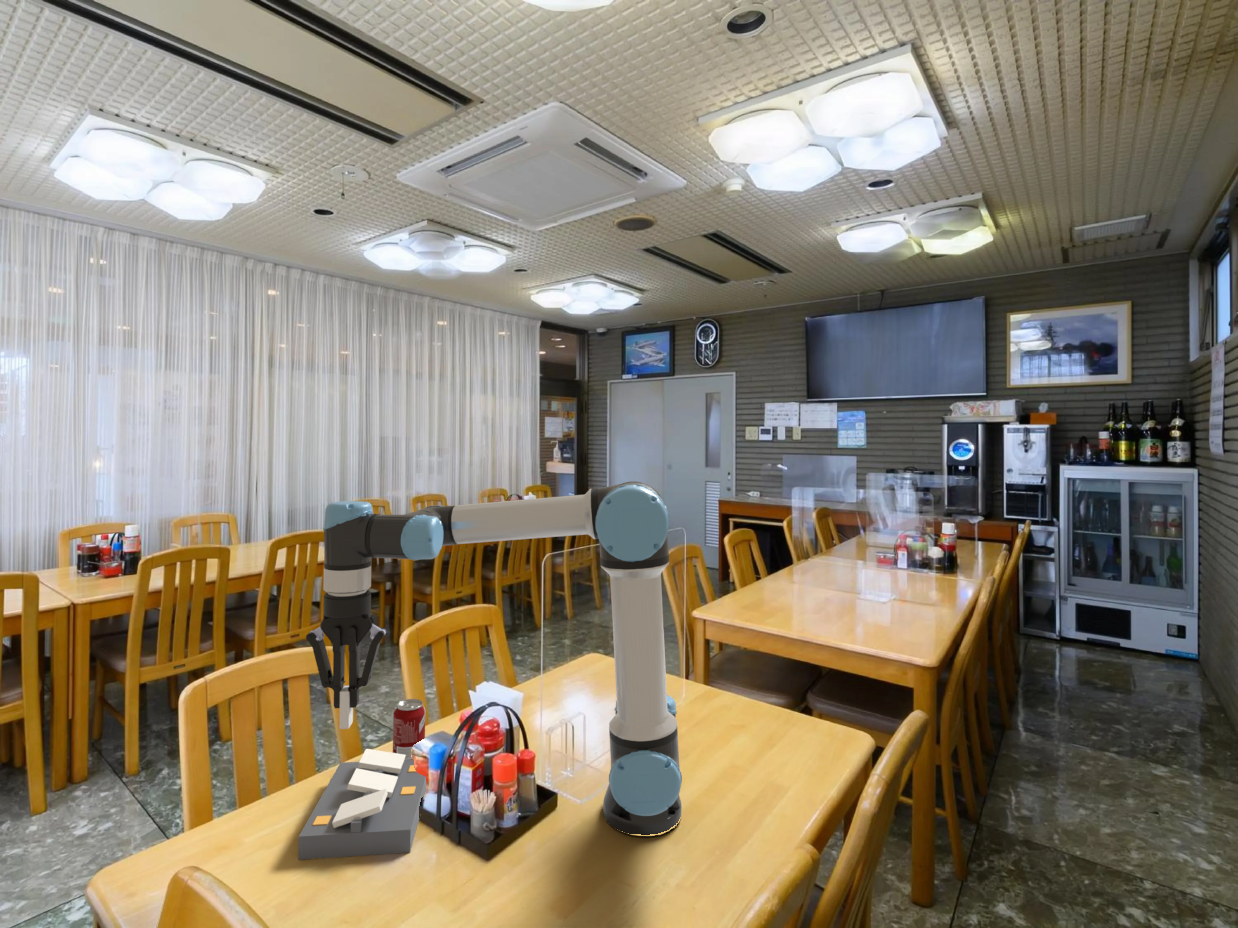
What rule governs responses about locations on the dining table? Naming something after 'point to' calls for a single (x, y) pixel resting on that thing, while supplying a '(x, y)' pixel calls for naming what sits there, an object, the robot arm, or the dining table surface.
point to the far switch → (382, 761)
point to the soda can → (408, 726)
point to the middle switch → (372, 782)
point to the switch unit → (372, 832)
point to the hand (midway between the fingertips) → (346, 725)
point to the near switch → (360, 808)
